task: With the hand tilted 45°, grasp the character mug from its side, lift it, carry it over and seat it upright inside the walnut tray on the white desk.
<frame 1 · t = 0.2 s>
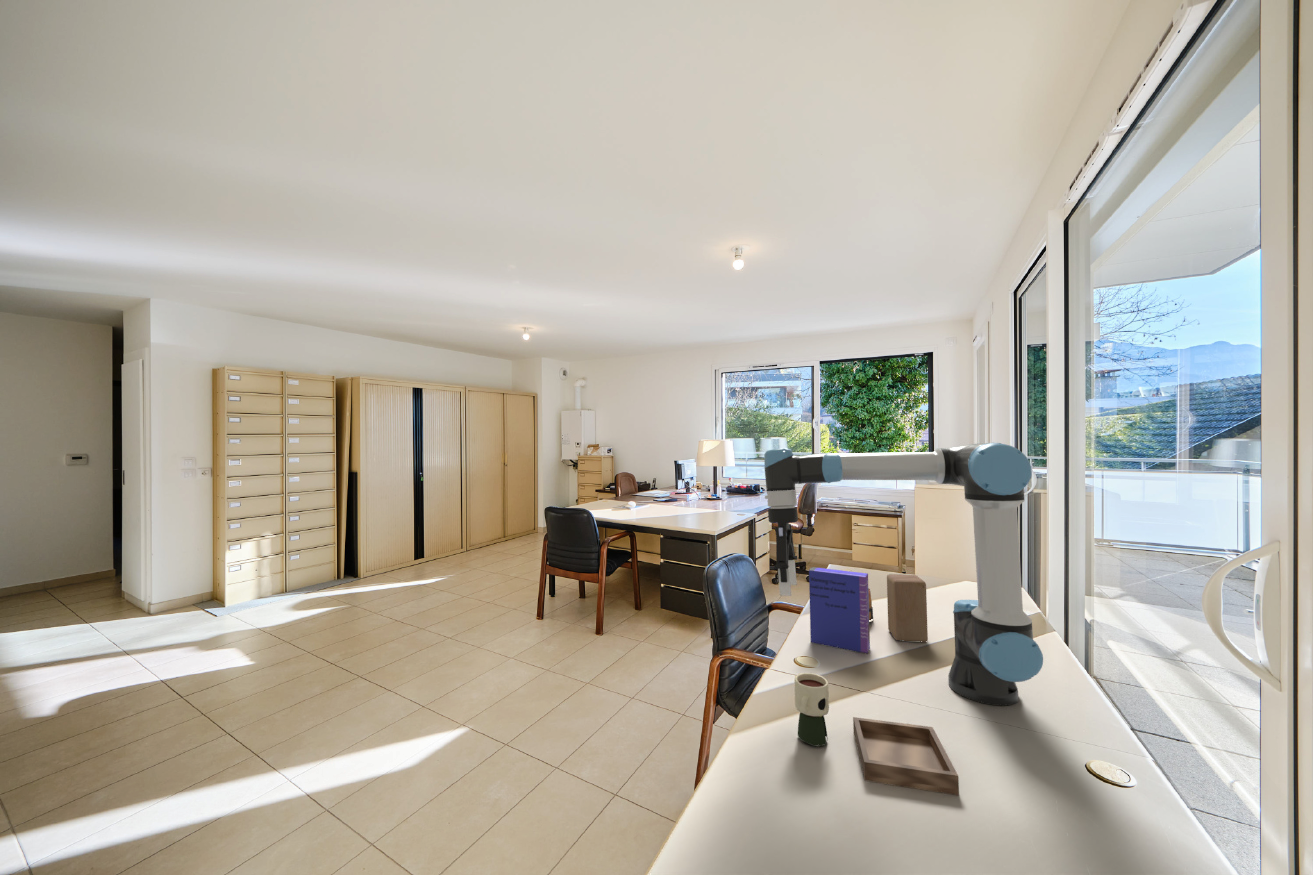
hand: (788, 589, 124), 27 cm above the table, tool pointing down, fingers open, 13 cm apart
wooden block: (907, 637, 161), on the table
ammunition clip: (864, 624, 174), on the table
character mug: (812, 741, 104), on the table
walnut tray: (900, 760, 97), on the table
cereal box: (839, 646, 155), on the table
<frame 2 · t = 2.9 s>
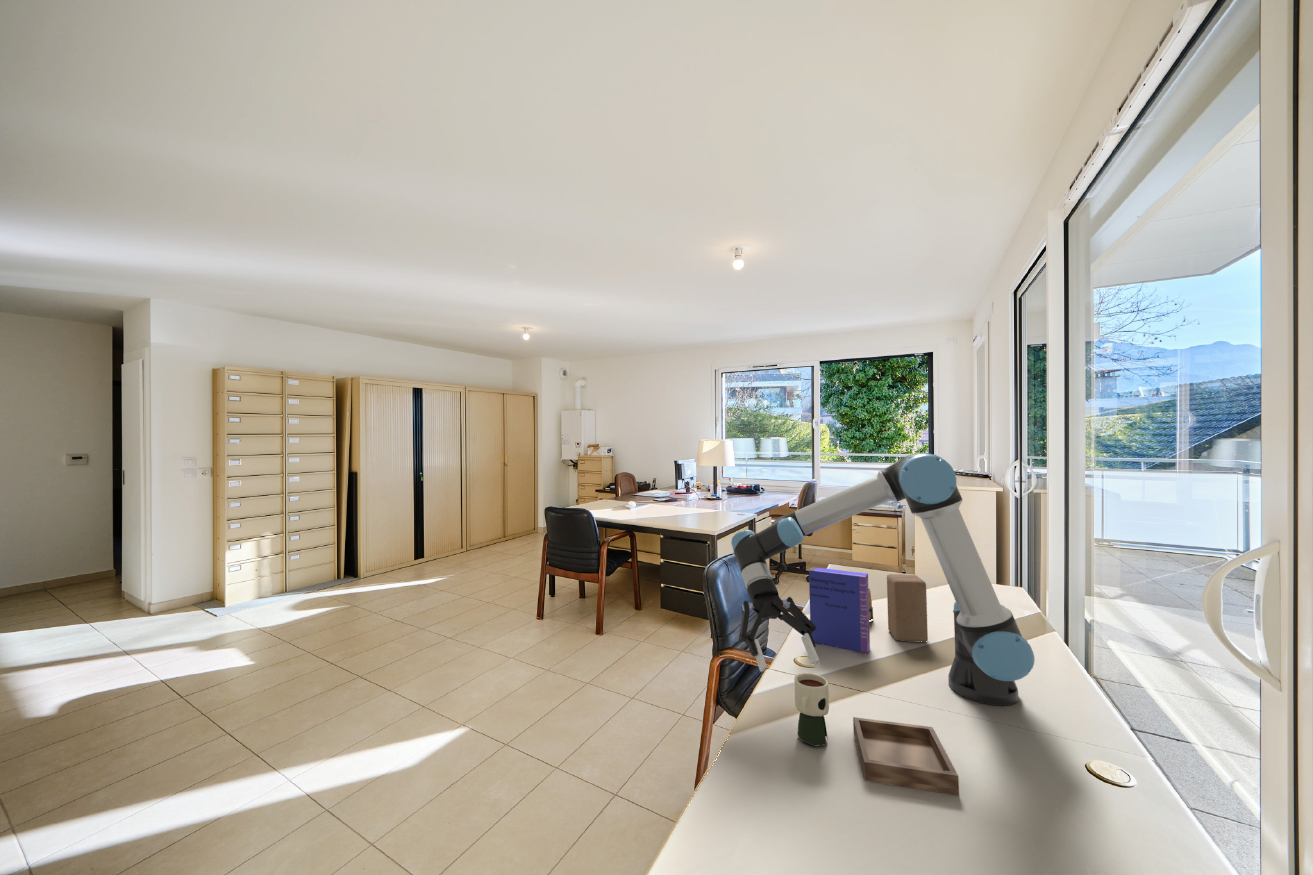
hand: (790, 665, 112), 13 cm above the table, tool tilted 45°, fingers open, 13 cm apart
nothing on the table moved.
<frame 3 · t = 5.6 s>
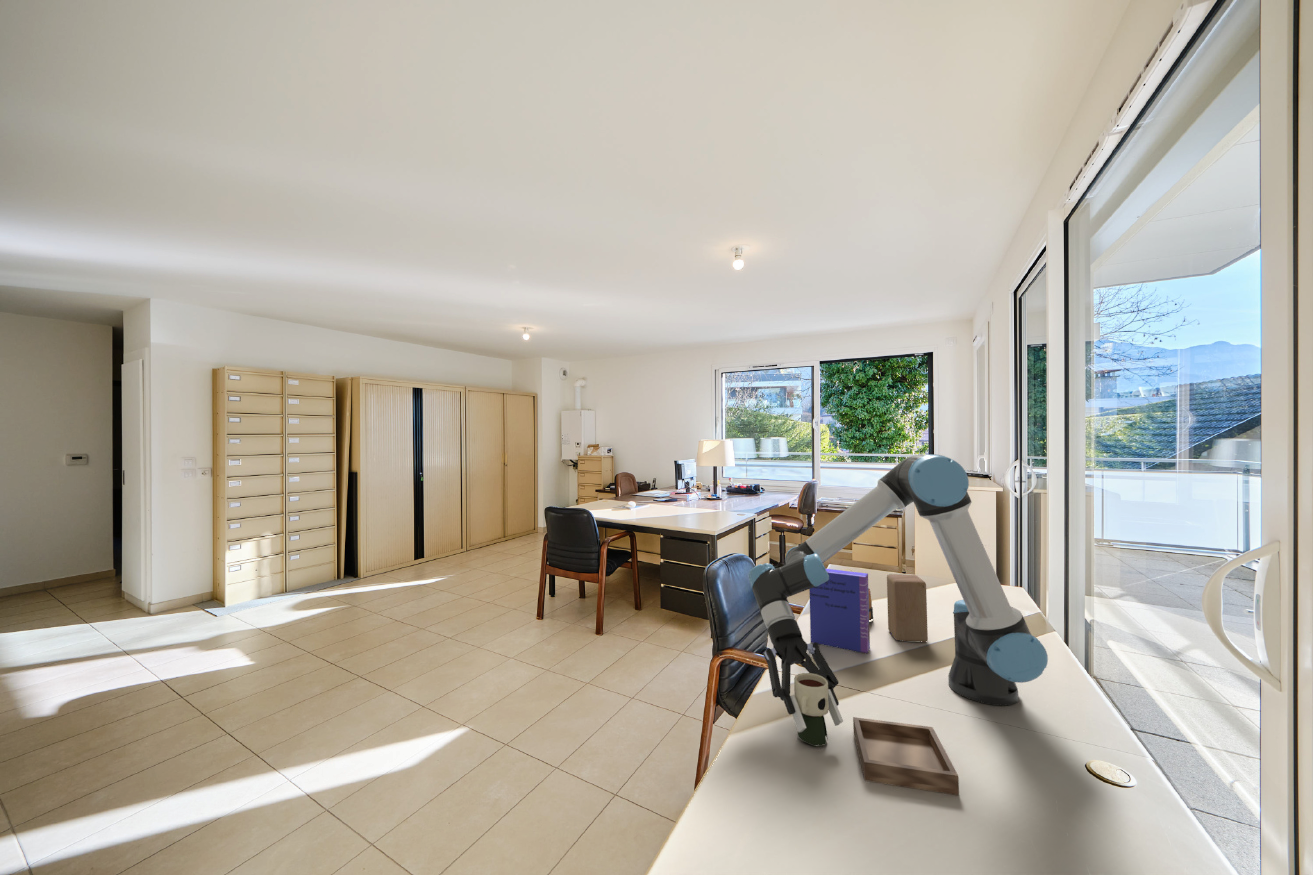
hand: (821, 726, 101), 5 cm above the table, tool tilted 45°, fingers closed on character mug, 8 cm apart
character mug: (812, 740, 104), on the table, touching gripper
everything else where it was.
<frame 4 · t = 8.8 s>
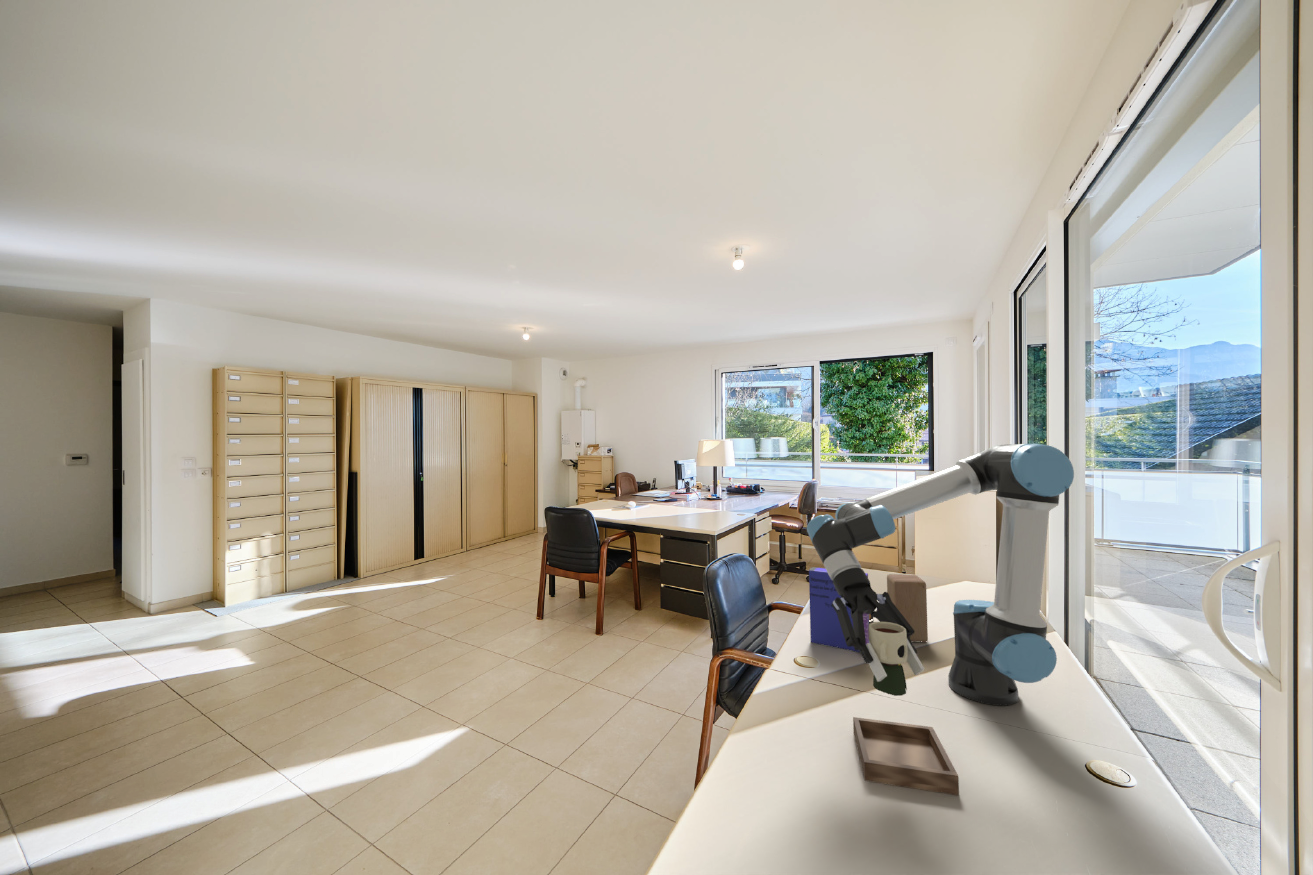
hand: (901, 675, 95), 18 cm above the table, tool tilted 45°, fingers closed on character mug, 8 cm apart
character mug: (890, 691, 98), point 14 cm above the table, touching gripper
everything else where it was.
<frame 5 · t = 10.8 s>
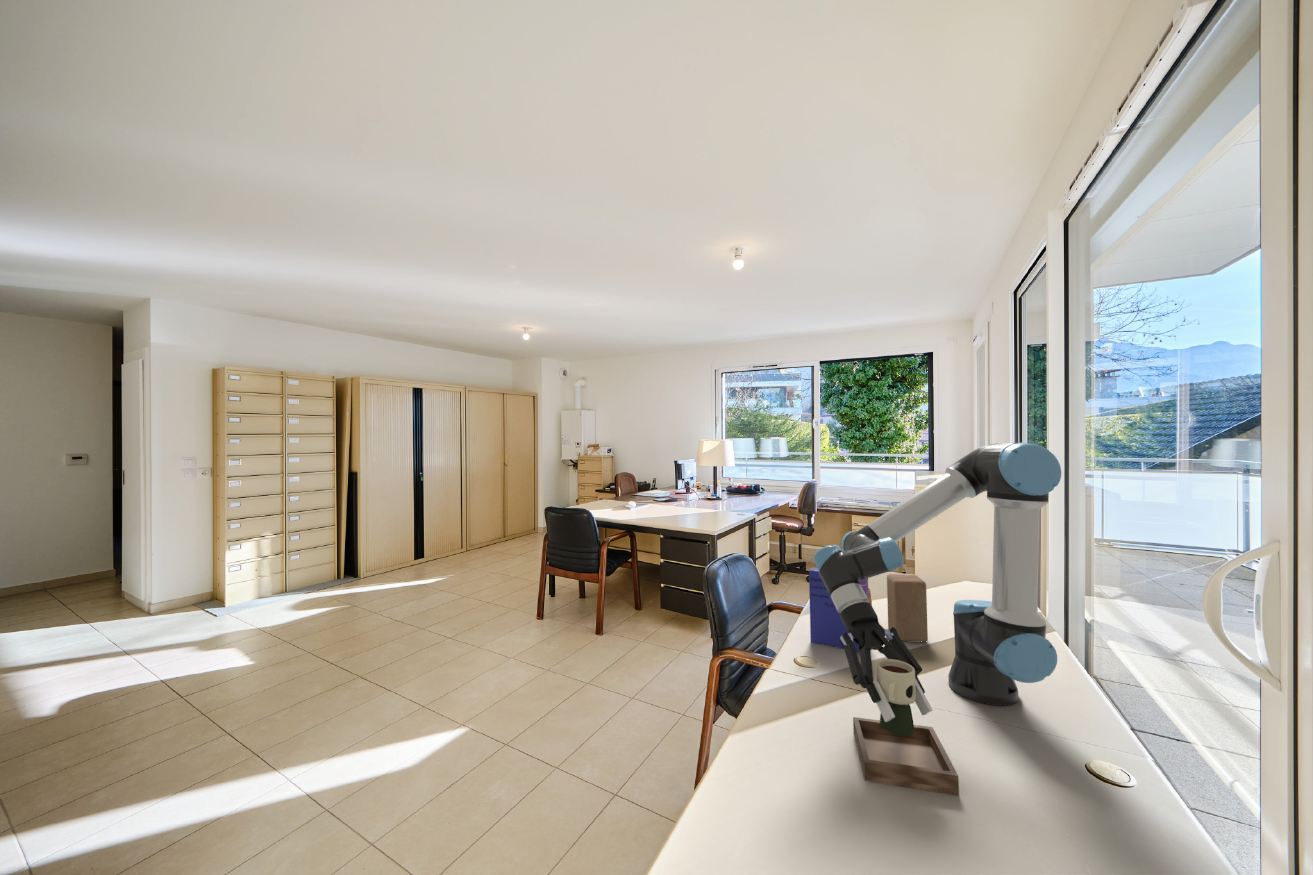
hand: (909, 715, 94), 11 cm above the table, tool tilted 45°, fingers closed on character mug, 8 cm apart
character mug: (896, 731, 97), point 6 cm above the table, touching gripper
everything else where it was.
when the fingers open (7 cm above the table, at t = 12.2 s): character mug drops 1 cm, resting on walnut tray.
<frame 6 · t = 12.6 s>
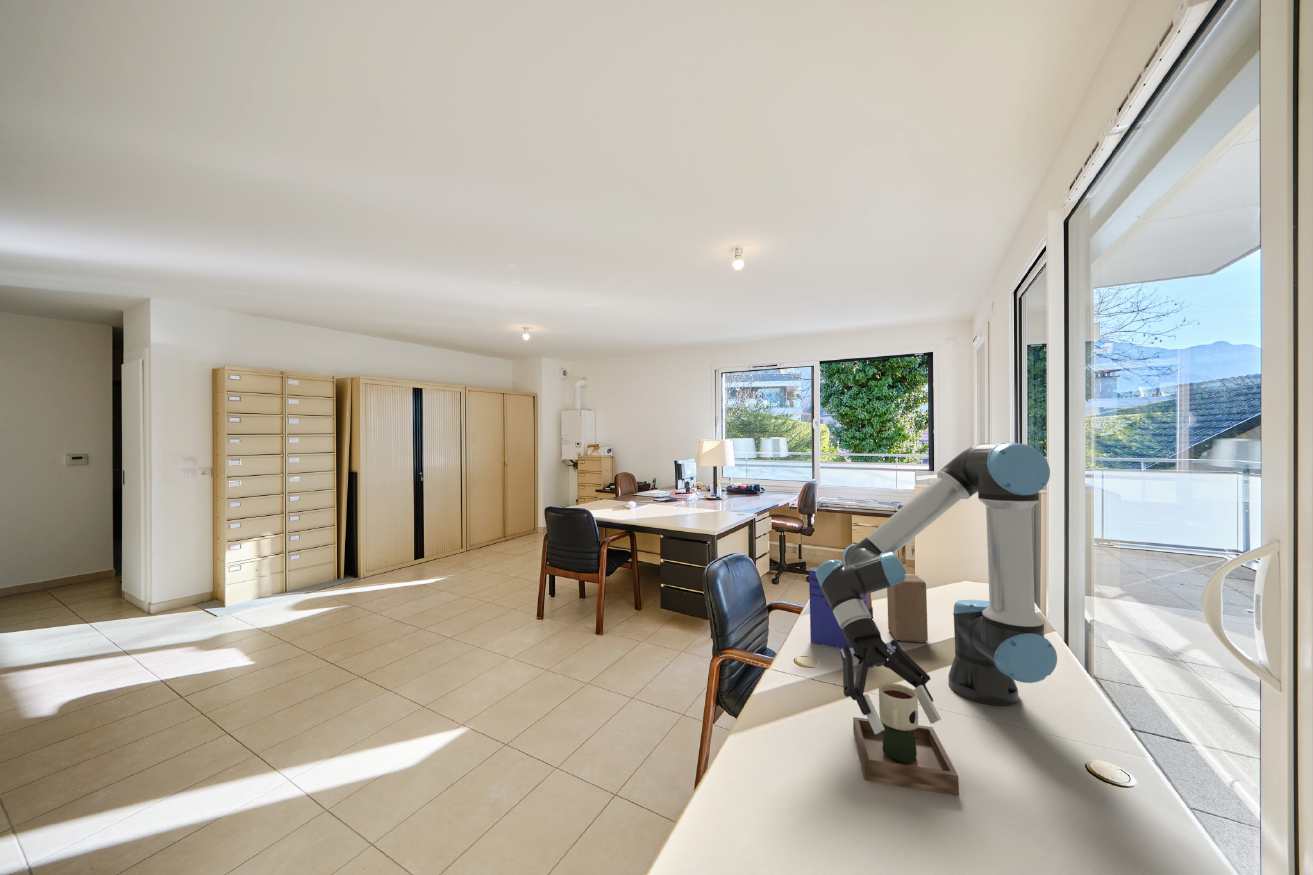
hand: (908, 726, 95), 8 cm above the table, tool tilted 45°, fingers open, 13 cm apart
character mug: (899, 756, 97), point 1 cm above the table, touching walnut tray
everything else where it was.
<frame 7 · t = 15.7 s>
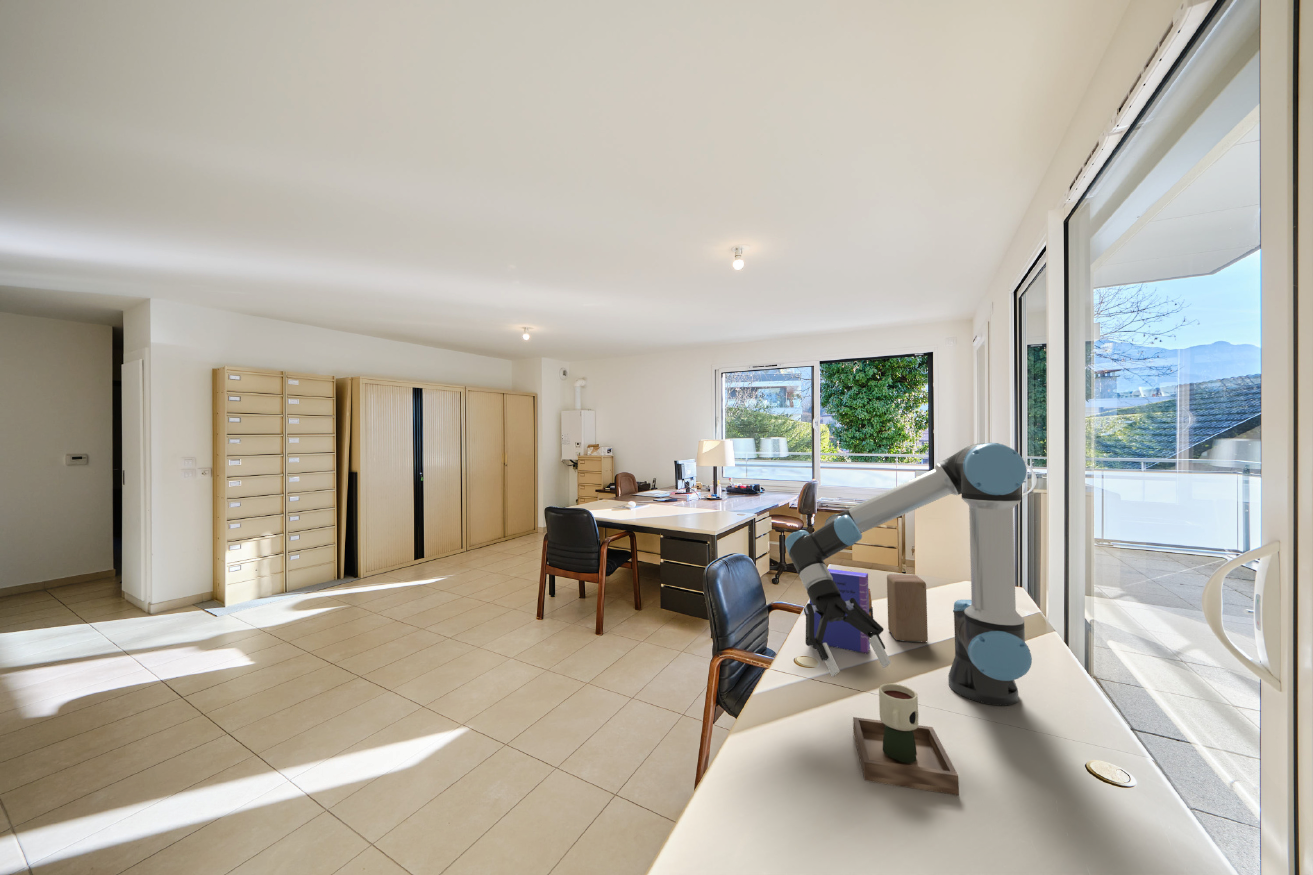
hand: (861, 669, 108), 14 cm above the table, tool tilted 45°, fingers open, 13 cm apart
nothing on the table moved.
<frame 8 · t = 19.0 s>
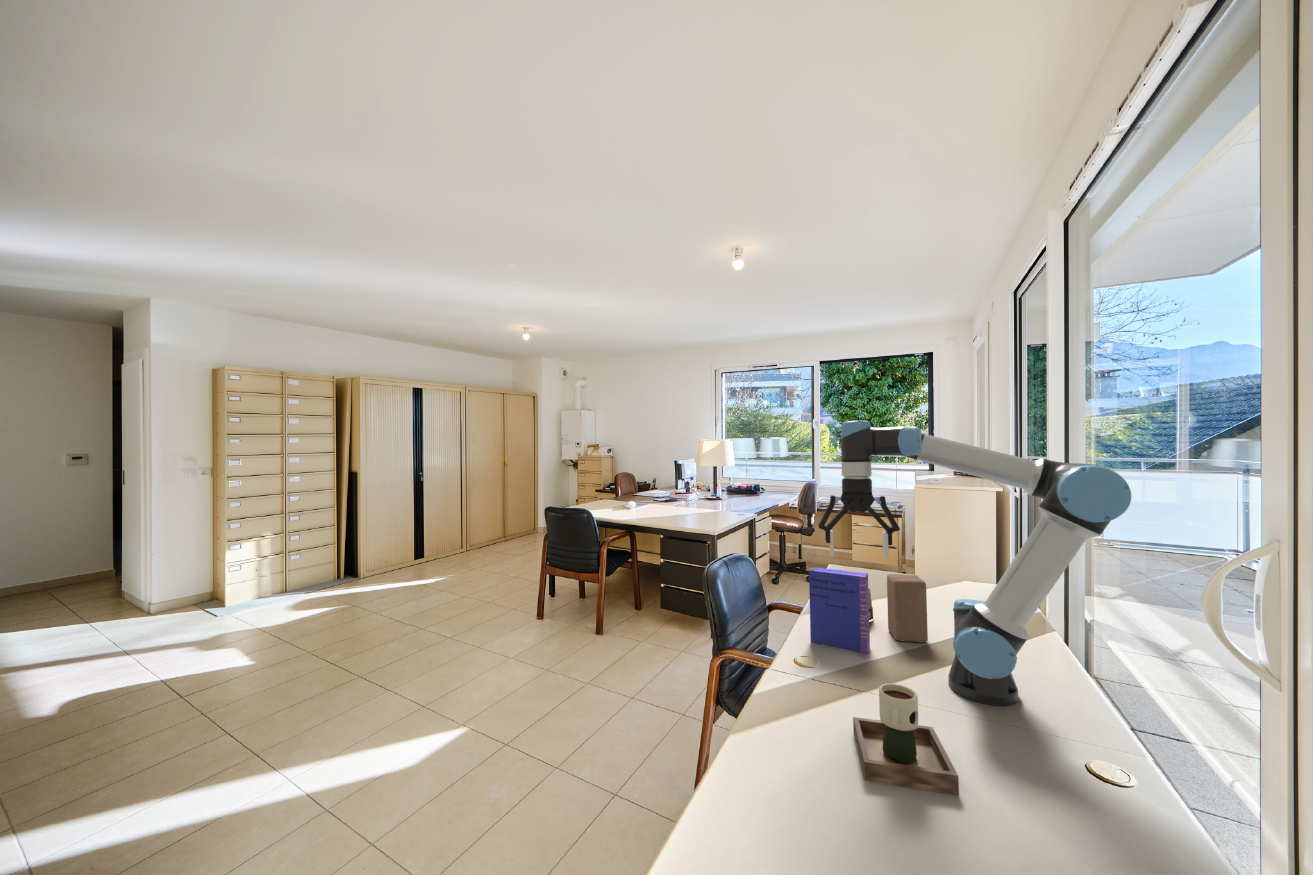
hand: (858, 556, 129), 35 cm above the table, tool pointing down, fingers open, 13 cm apart
nothing on the table moved.
at the end: character mug inside the target area on the walnut tray (0.2 cm from its centre), point 0.8 cm above the walnut tray's base; character mug tilted 0°; the gripper is holding nothing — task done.
